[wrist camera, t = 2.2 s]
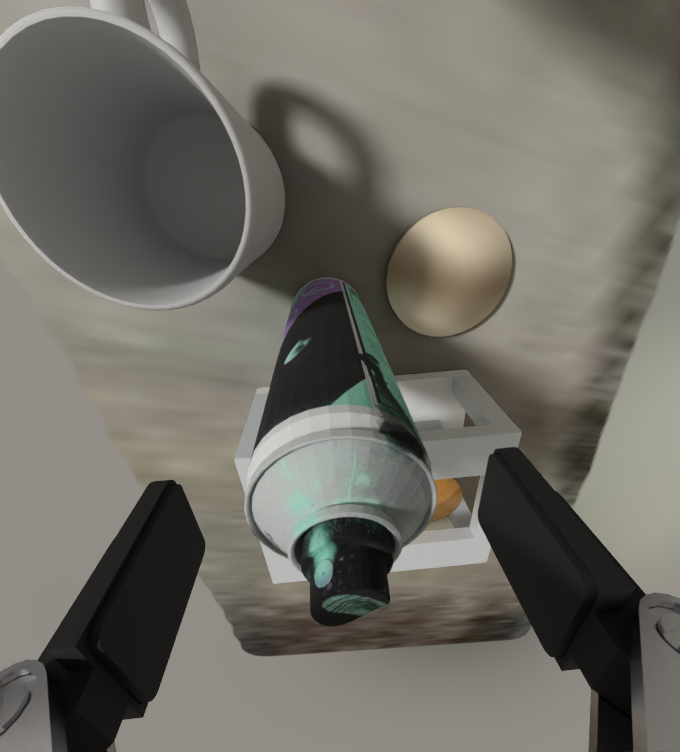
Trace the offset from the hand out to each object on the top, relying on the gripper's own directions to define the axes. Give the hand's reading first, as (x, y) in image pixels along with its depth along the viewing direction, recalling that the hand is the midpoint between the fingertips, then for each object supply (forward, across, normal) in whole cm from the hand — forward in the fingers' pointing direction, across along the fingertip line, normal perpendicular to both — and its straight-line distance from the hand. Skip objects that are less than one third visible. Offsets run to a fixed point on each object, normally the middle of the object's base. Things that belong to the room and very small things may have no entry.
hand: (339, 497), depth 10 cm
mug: (+17, +6, -11) cm, 21 cm away
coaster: (+16, -9, -3) cm, 19 cm away
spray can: (+17, 0, -1) cm, 17 cm away
